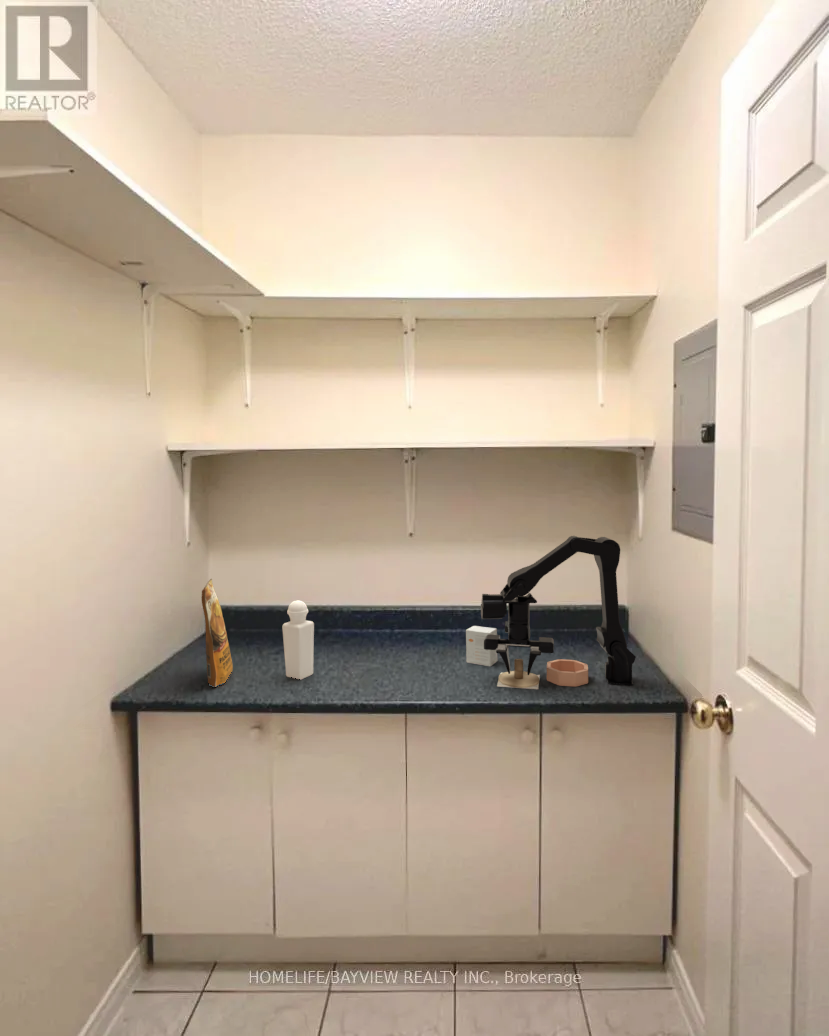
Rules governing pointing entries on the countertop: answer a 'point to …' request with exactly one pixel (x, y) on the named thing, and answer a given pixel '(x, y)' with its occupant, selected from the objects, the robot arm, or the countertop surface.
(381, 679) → the countertop surface
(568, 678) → the bowl
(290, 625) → the white square bottle
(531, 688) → the mat
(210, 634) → the pancake mix bag
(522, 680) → the lid
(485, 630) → the small box
